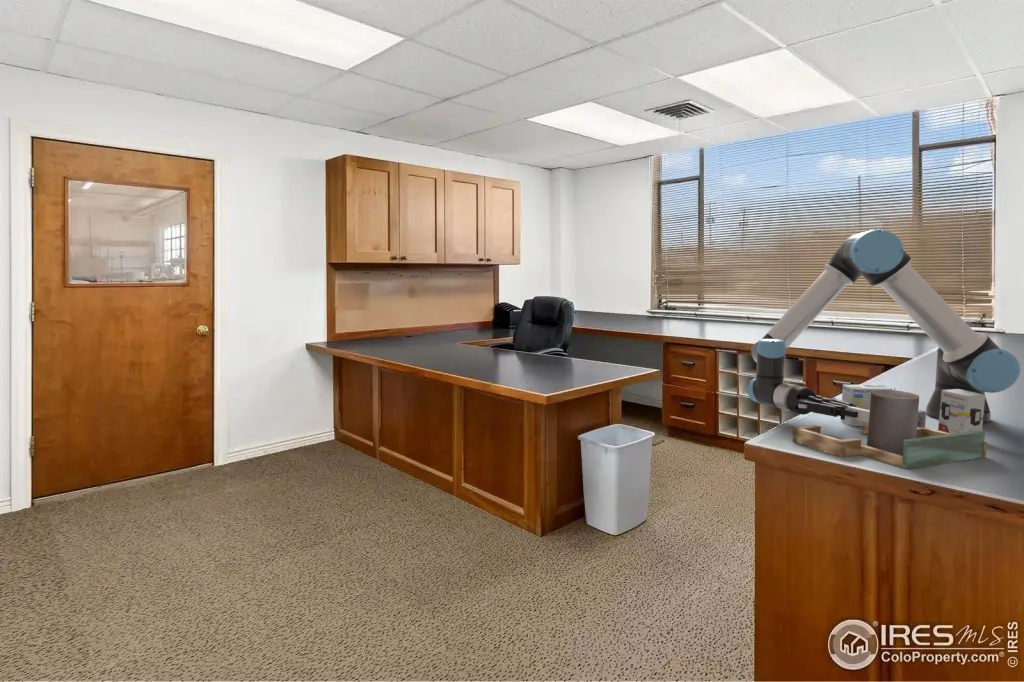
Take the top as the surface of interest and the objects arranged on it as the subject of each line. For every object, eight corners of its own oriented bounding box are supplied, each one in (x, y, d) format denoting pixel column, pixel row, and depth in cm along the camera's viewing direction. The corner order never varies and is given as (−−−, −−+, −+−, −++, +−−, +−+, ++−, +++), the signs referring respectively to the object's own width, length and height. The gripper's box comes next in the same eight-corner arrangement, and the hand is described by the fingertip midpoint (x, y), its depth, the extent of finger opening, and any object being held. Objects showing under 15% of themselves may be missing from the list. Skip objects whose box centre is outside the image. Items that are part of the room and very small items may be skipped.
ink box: (936, 433, 157) (940, 388, 156) (953, 432, 157) (957, 388, 156) (963, 441, 148) (967, 395, 147) (982, 441, 149) (986, 394, 147)
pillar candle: (858, 444, 146) (862, 384, 144) (900, 445, 145) (905, 384, 143) (880, 456, 136) (884, 392, 134) (925, 457, 135) (930, 392, 133)
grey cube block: (894, 427, 163) (895, 409, 163) (906, 425, 165) (908, 407, 165) (911, 431, 159) (913, 412, 158) (924, 429, 160) (926, 411, 160)
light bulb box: (878, 421, 169) (881, 384, 168) (891, 427, 163) (894, 388, 161) (839, 420, 170) (841, 383, 169) (850, 426, 164) (852, 387, 162)
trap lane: (792, 441, 148) (793, 417, 148) (881, 430, 159) (883, 408, 159) (888, 472, 125) (890, 444, 124) (985, 457, 136) (988, 431, 135)
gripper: (812, 410, 169) (890, 430, 147) (776, 413, 164) (851, 434, 142) (813, 384, 168) (892, 400, 146) (777, 387, 164) (853, 404, 142)
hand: (872, 417), depth 144 cm, fingers closed
